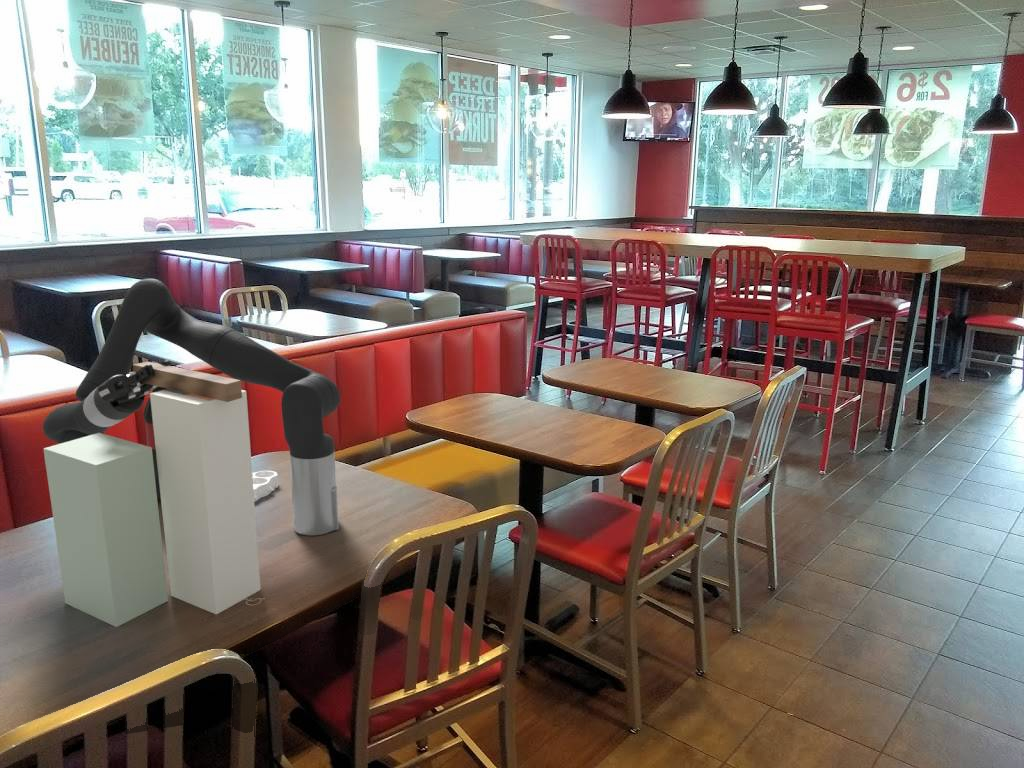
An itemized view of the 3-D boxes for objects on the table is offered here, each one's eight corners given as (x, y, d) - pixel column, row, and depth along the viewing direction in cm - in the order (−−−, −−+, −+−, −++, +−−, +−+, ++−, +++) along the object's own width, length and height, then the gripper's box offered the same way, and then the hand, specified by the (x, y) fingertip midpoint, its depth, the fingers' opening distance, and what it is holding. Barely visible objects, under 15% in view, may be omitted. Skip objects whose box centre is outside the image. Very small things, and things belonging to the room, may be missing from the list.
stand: (171, 595, 144) (149, 392, 134) (216, 572, 152) (199, 380, 142) (216, 614, 138) (197, 404, 128) (260, 589, 146) (246, 390, 137)
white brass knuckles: (246, 477, 201) (292, 487, 195) (190, 502, 185) (238, 514, 179) (245, 464, 200) (291, 474, 194) (189, 489, 184) (237, 501, 178)
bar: (134, 381, 141) (132, 364, 140) (149, 377, 144) (147, 361, 143) (227, 401, 130) (226, 384, 129) (242, 397, 132) (240, 380, 131)
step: (65, 603, 141) (43, 448, 133) (117, 579, 149) (99, 432, 142) (116, 627, 134) (96, 465, 126) (167, 600, 142) (151, 447, 135)
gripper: (68, 391, 143) (115, 355, 133) (138, 375, 154) (186, 341, 145) (85, 429, 143) (133, 395, 133) (154, 410, 154) (202, 378, 145)
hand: (160, 367), depth 139 cm, fingers closed on bar, 3 cm apart
